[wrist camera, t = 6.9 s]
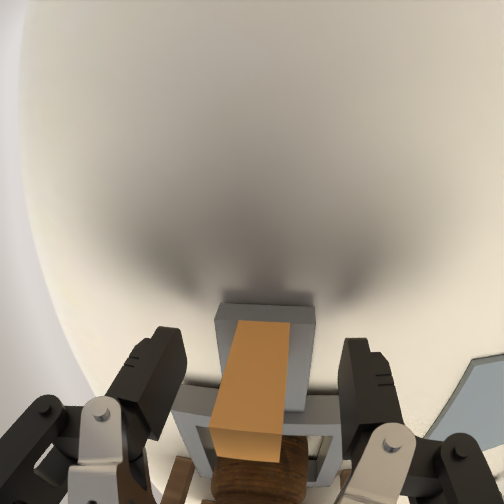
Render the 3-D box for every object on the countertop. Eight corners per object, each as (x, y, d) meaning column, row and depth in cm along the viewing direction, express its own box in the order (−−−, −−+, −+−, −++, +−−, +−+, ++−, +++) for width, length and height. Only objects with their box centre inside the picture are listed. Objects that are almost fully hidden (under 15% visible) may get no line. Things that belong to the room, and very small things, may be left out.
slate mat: (471, 360, 13) (474, 365, 13) (582, 334, 11) (585, 337, 11) (401, 466, 19) (401, 470, 19) (511, 437, 17) (512, 440, 17)
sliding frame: (158, 297, 13) (91, 398, 8) (381, 306, 12) (419, 427, 6) (205, 456, 20) (188, 520, 14) (329, 465, 19) (327, 532, 13)
